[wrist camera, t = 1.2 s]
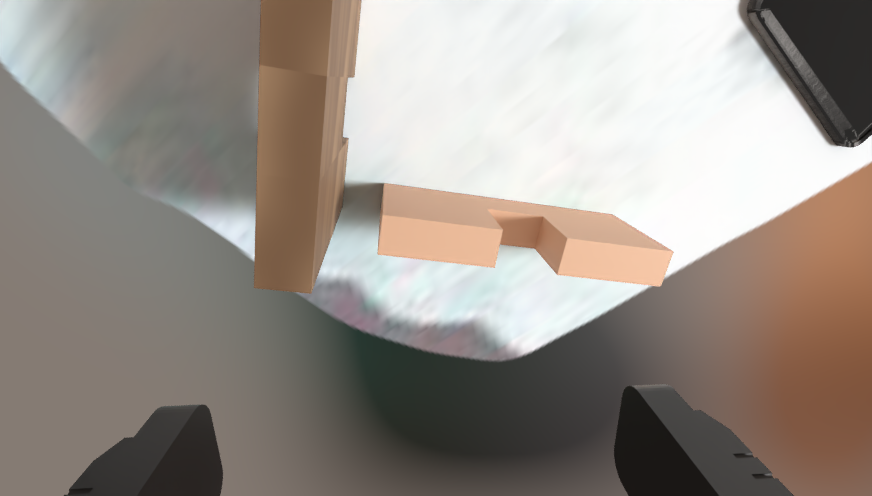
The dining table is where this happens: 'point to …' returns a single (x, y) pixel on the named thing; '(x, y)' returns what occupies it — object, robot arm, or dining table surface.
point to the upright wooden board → (301, 135)
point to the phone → (824, 58)
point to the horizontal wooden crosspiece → (516, 235)
